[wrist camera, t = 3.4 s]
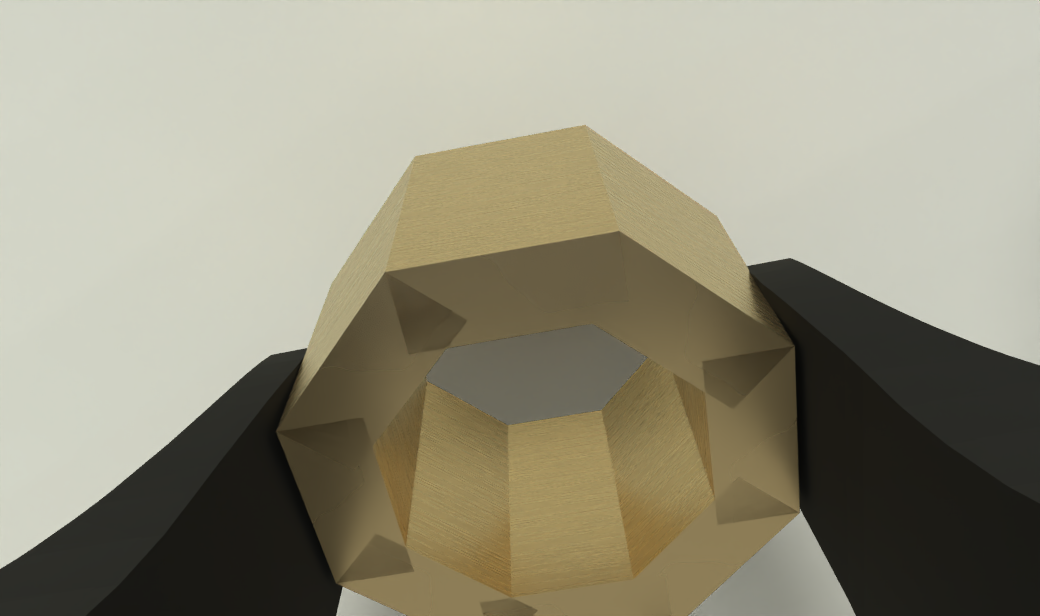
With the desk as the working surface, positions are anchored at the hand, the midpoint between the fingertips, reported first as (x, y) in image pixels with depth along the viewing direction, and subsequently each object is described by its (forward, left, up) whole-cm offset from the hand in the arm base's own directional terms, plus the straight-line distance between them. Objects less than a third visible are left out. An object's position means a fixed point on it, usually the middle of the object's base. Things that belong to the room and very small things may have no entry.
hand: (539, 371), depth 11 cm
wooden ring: (0, 0, -1) cm, 1 cm away
